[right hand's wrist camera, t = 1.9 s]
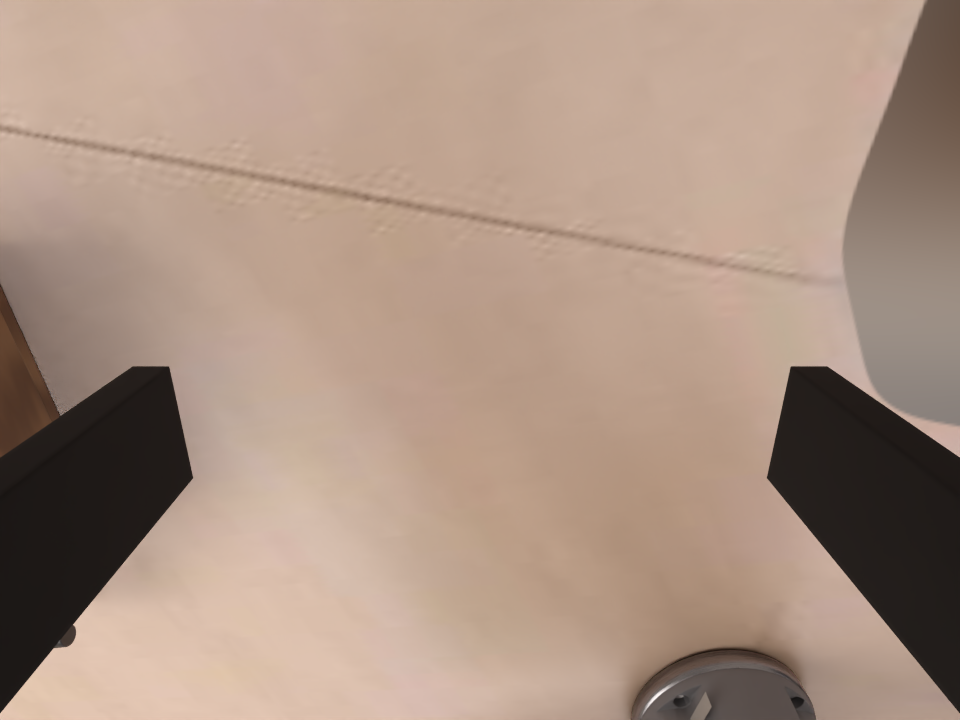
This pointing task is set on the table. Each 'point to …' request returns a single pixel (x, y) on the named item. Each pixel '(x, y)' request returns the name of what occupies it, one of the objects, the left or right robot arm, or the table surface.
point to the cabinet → (19, 386)
